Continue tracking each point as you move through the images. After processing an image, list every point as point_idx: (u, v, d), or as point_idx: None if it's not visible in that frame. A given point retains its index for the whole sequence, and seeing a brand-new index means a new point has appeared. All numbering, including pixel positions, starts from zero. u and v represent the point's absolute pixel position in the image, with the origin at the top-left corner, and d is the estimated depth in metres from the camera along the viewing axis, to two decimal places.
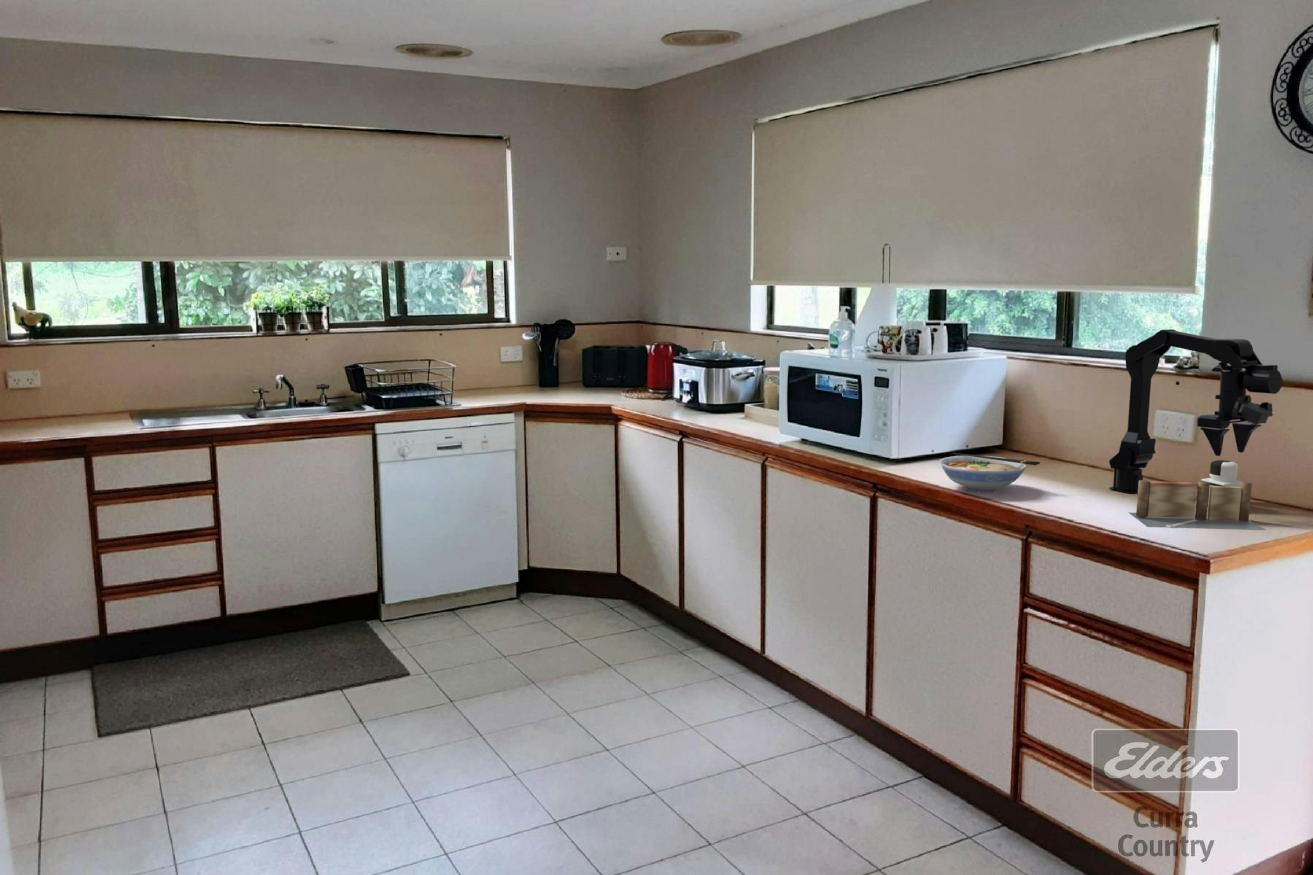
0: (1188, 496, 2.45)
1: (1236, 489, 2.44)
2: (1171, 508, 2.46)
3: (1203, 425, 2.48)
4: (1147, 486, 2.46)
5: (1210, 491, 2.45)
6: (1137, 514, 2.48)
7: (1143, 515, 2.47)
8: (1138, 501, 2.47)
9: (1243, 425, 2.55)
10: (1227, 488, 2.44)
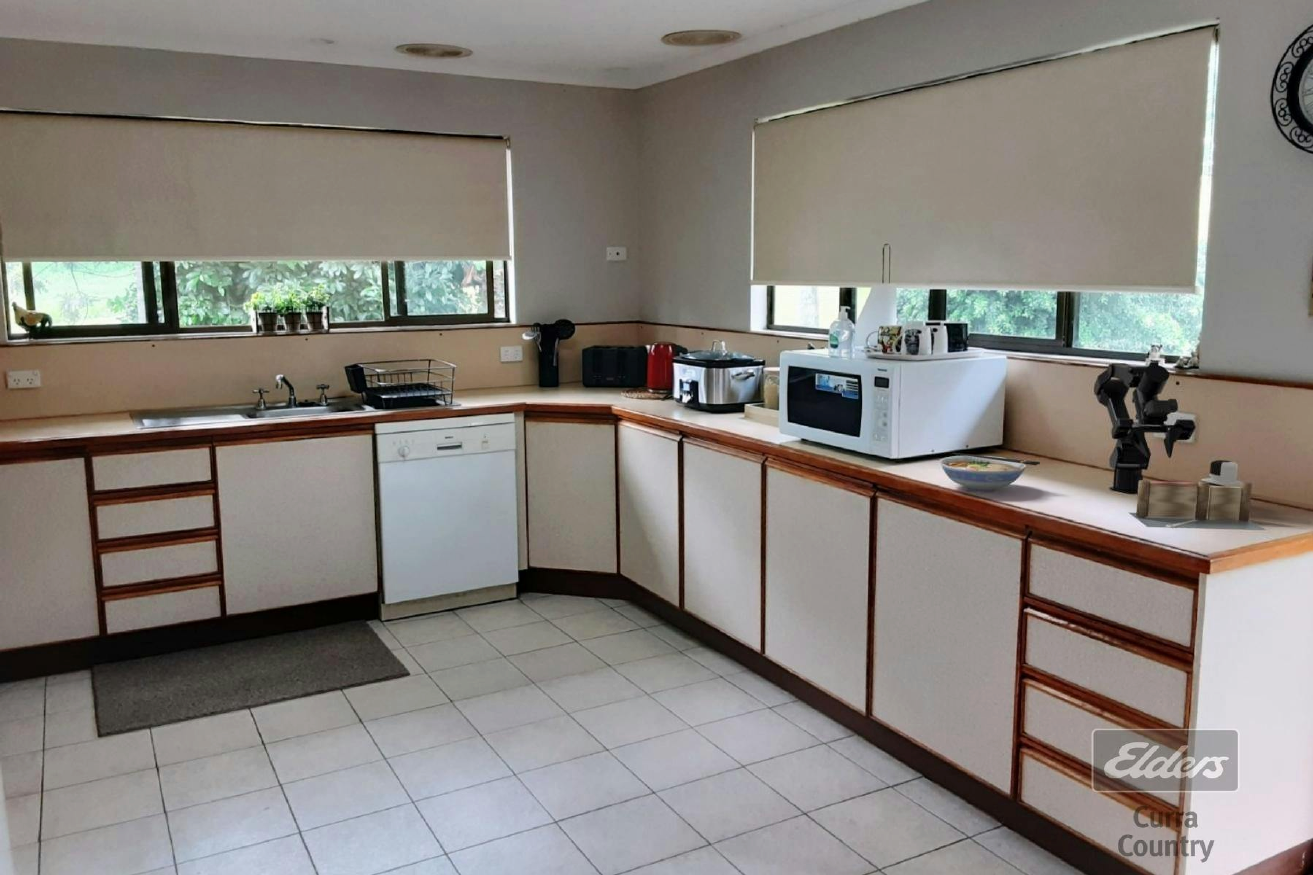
0: (1188, 496, 2.45)
1: (1236, 489, 2.44)
2: (1171, 508, 2.46)
3: (1113, 433, 2.62)
4: (1147, 486, 2.46)
5: (1210, 491, 2.45)
6: (1137, 514, 2.48)
7: (1143, 515, 2.47)
8: (1138, 501, 2.47)
9: (1167, 435, 2.59)
10: (1227, 488, 2.44)
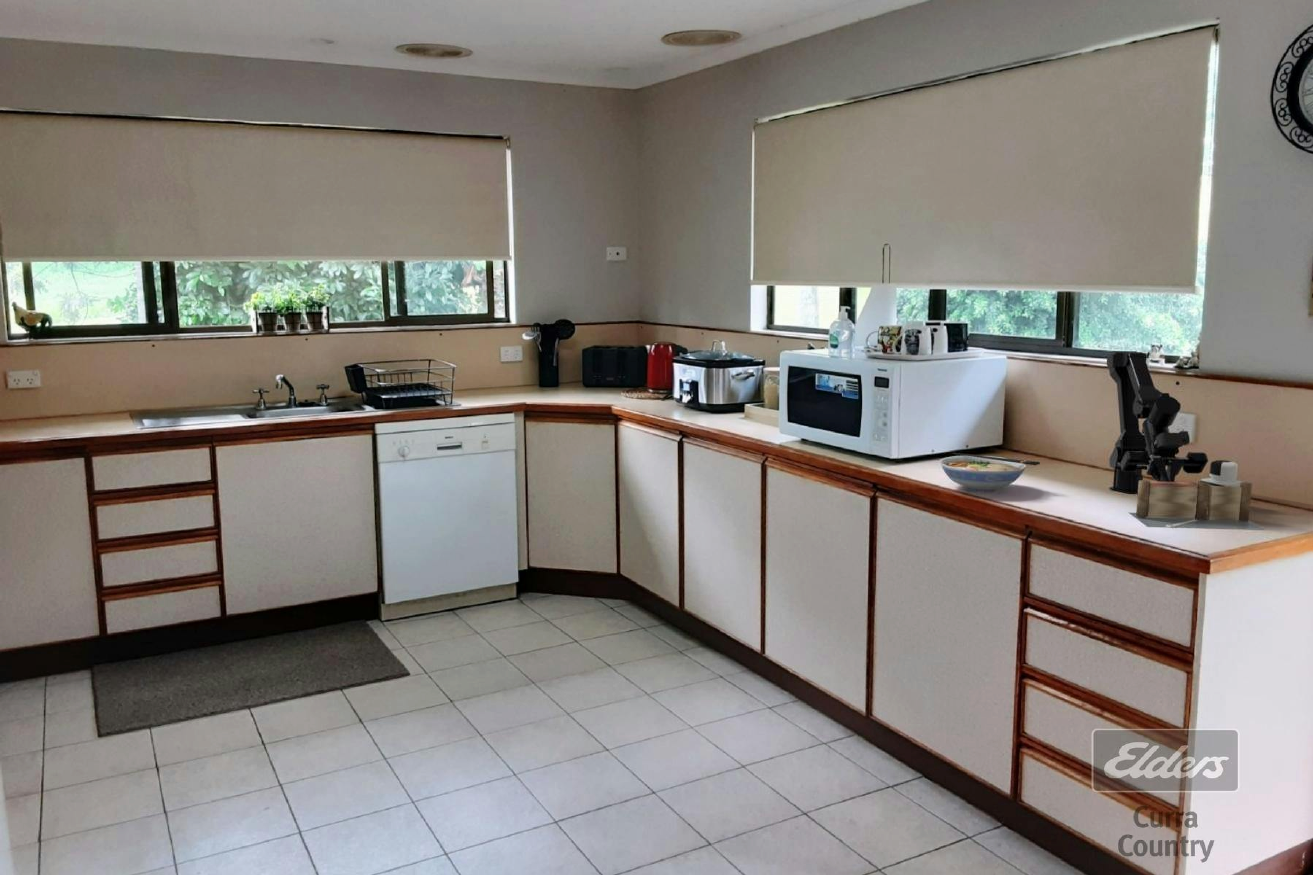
0: (1188, 496, 2.45)
1: (1236, 489, 2.44)
2: (1171, 508, 2.46)
3: (1123, 466, 2.54)
4: (1147, 486, 2.46)
5: (1210, 491, 2.45)
6: (1137, 514, 2.48)
7: (1143, 515, 2.47)
8: (1138, 501, 2.47)
9: (1168, 468, 2.51)
10: (1227, 488, 2.44)
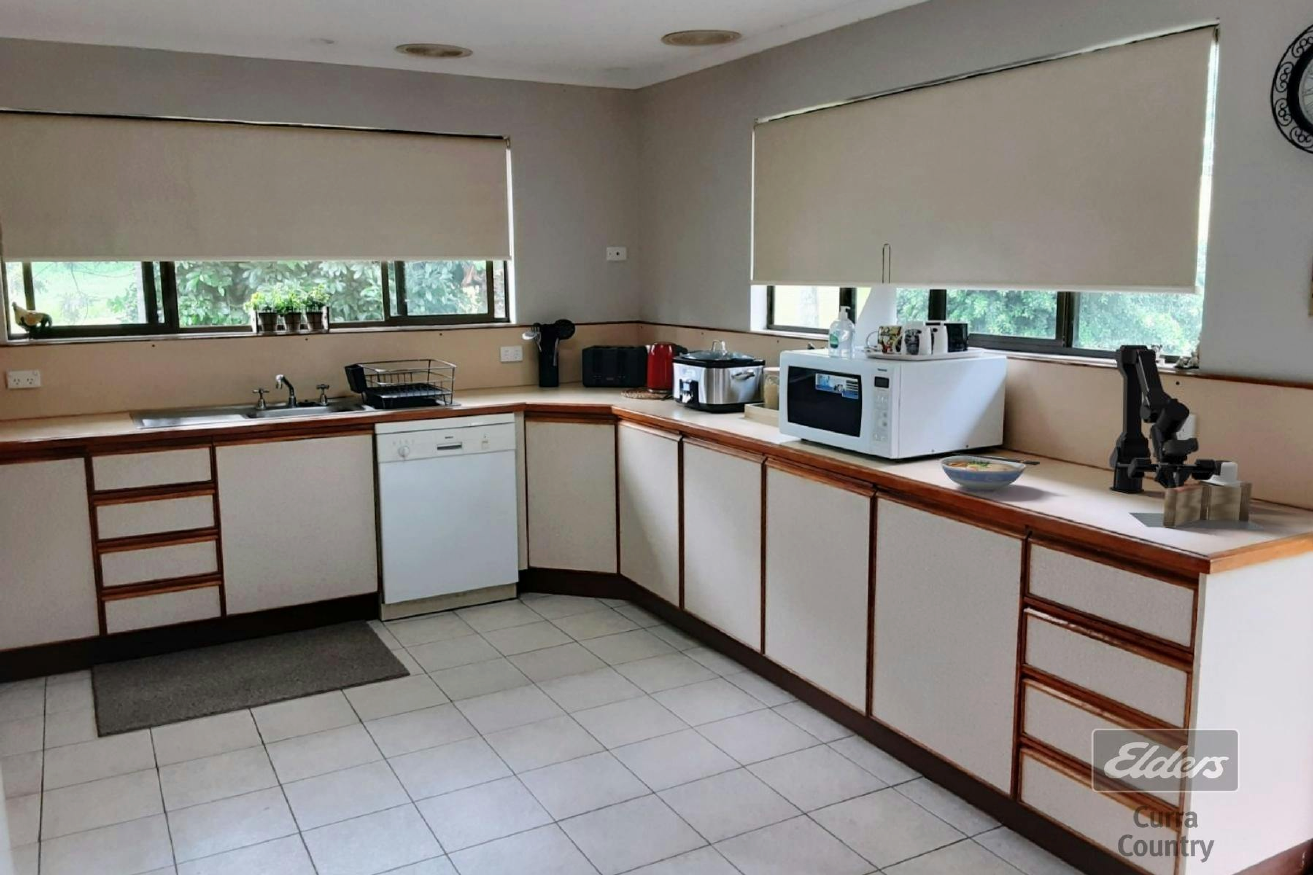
0: (1197, 498, 2.43)
1: (1236, 489, 2.44)
2: (1187, 513, 2.42)
3: (1130, 472, 2.49)
4: (1176, 494, 2.37)
5: (1210, 491, 2.45)
6: (1167, 524, 2.38)
7: (1173, 524, 2.38)
8: (1168, 511, 2.38)
9: (1176, 475, 2.46)
10: (1227, 488, 2.44)
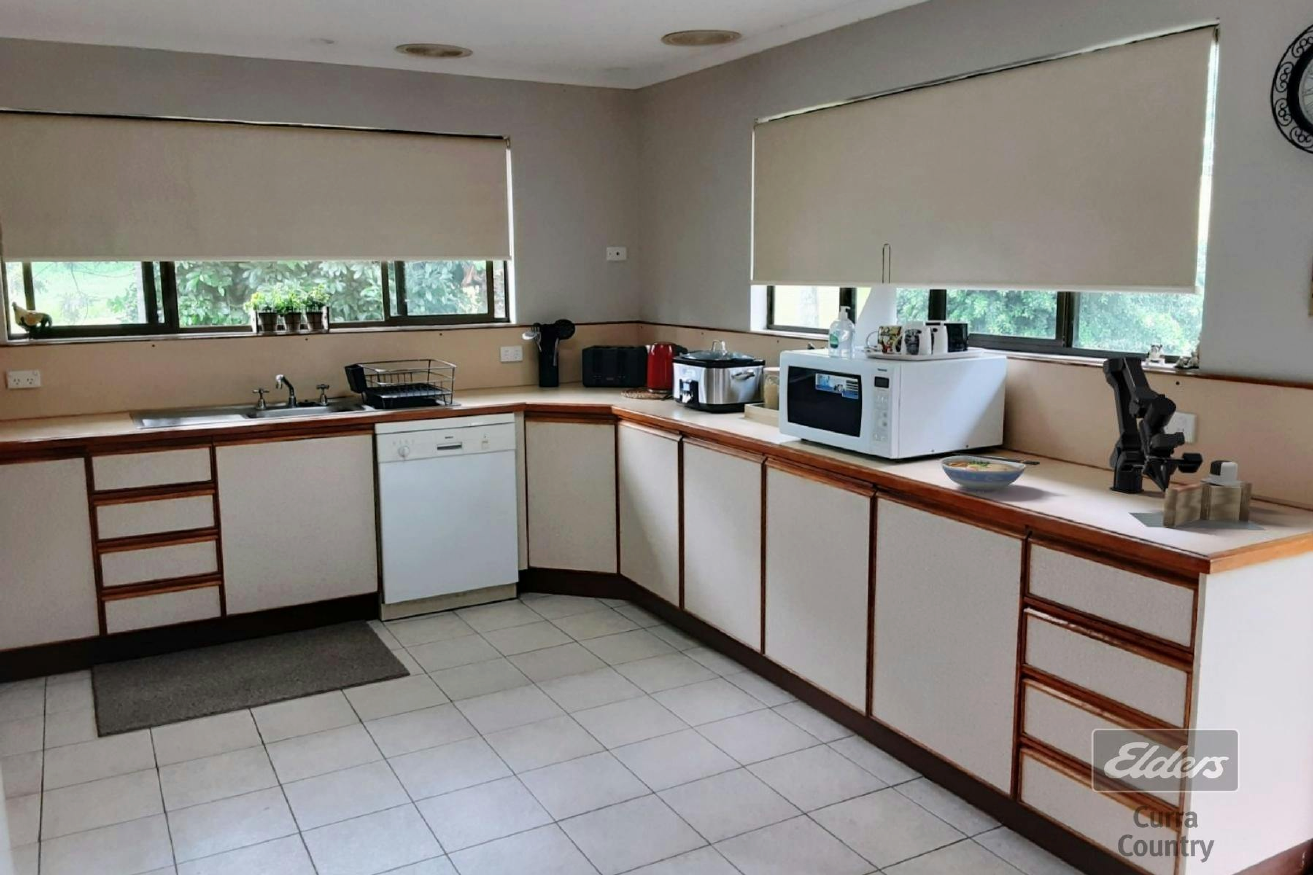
0: (1197, 498, 2.43)
1: (1236, 489, 2.44)
2: (1187, 513, 2.42)
3: (1119, 466, 2.57)
4: (1176, 494, 2.37)
5: (1210, 491, 2.45)
6: (1167, 524, 2.38)
7: (1173, 524, 2.38)
8: (1168, 511, 2.38)
9: (1163, 468, 2.54)
10: (1227, 488, 2.44)
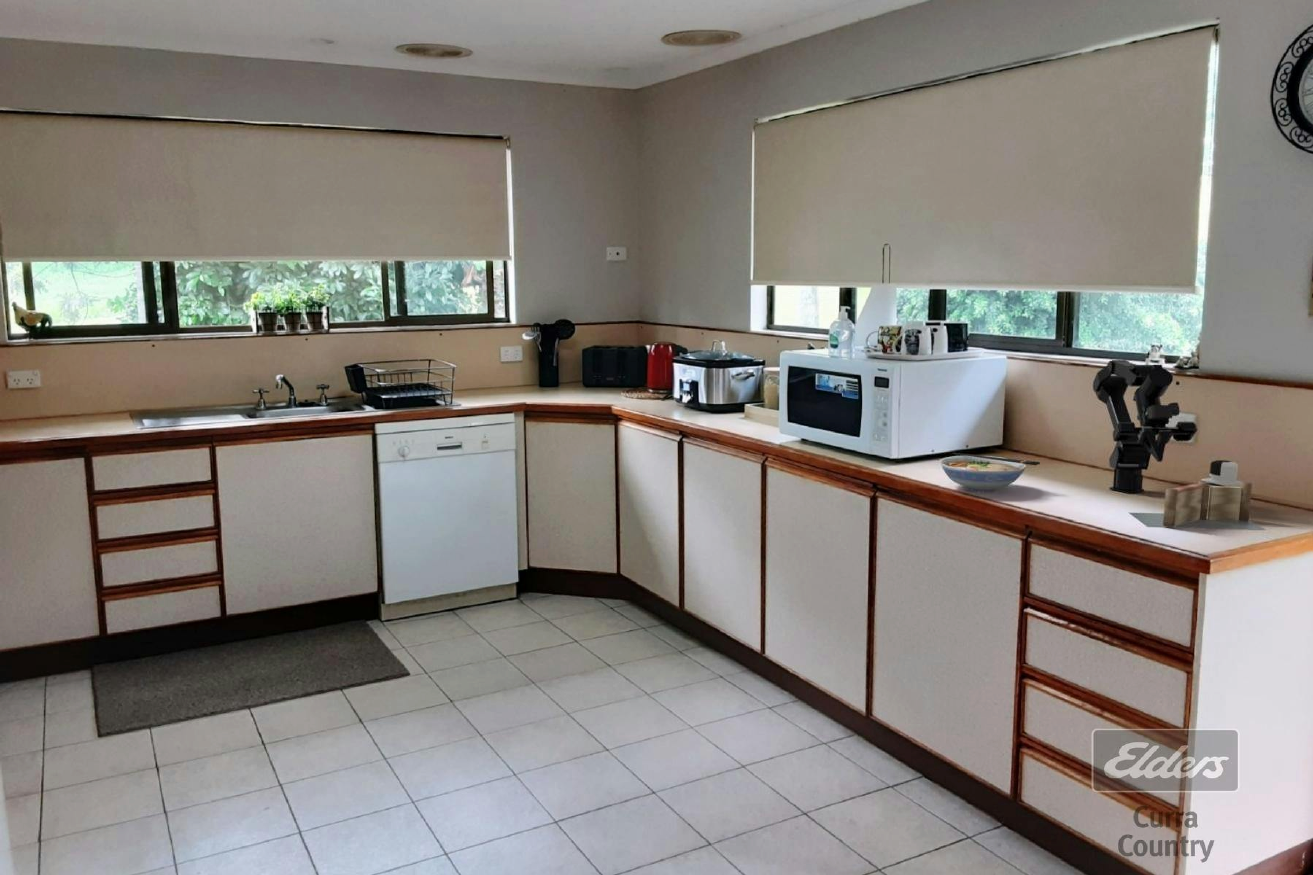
0: (1197, 498, 2.43)
1: (1236, 489, 2.44)
2: (1187, 513, 2.42)
3: (1114, 436, 2.62)
4: (1176, 494, 2.37)
5: (1210, 491, 2.45)
6: (1167, 524, 2.38)
7: (1173, 524, 2.38)
8: (1168, 511, 2.38)
9: (1158, 437, 2.60)
10: (1227, 488, 2.44)
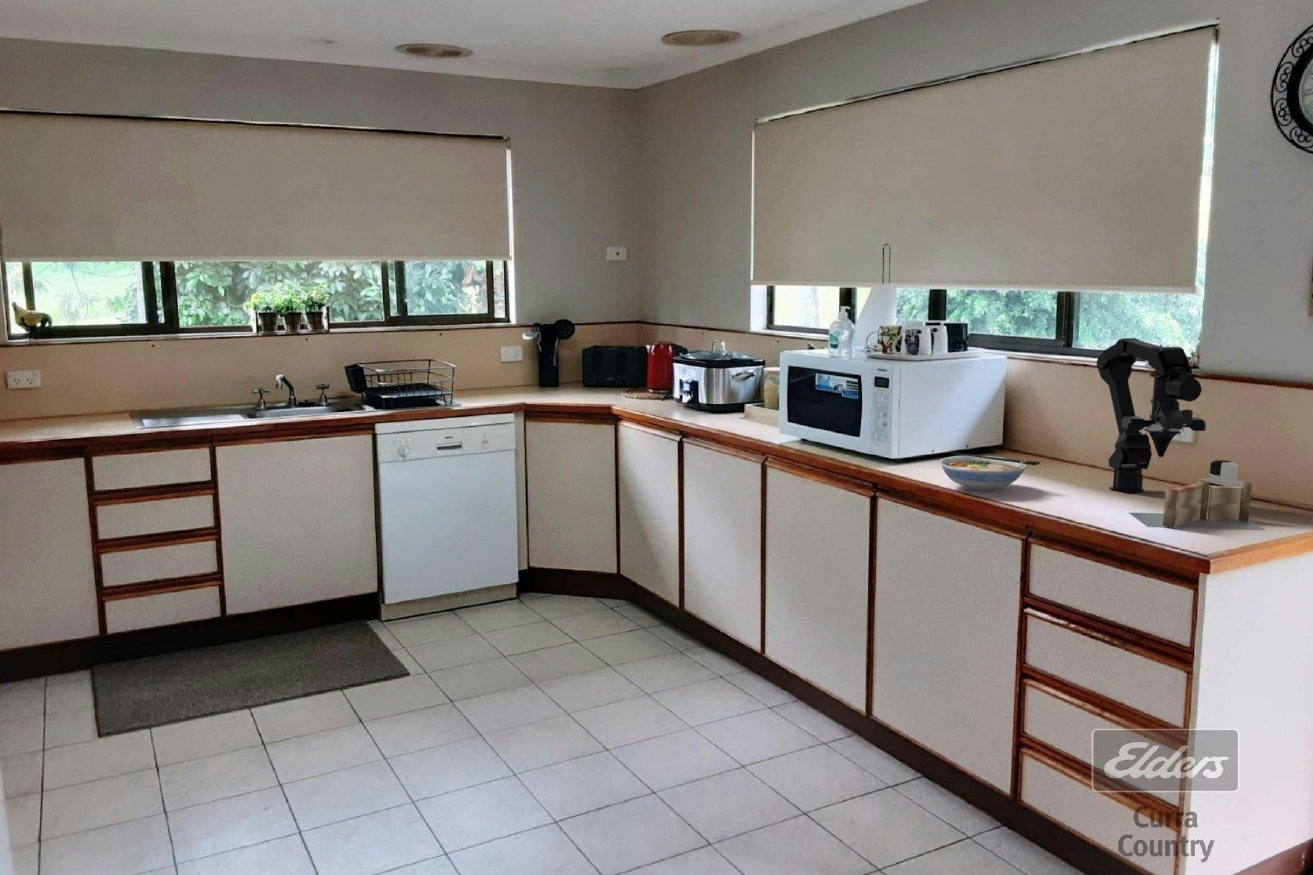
0: (1197, 498, 2.43)
1: (1236, 489, 2.44)
2: (1187, 513, 2.42)
3: (1123, 425, 2.64)
4: (1176, 494, 2.37)
5: (1210, 491, 2.45)
6: (1167, 524, 2.38)
7: (1173, 524, 2.38)
8: (1168, 511, 2.38)
9: (1165, 431, 2.62)
10: (1227, 488, 2.44)
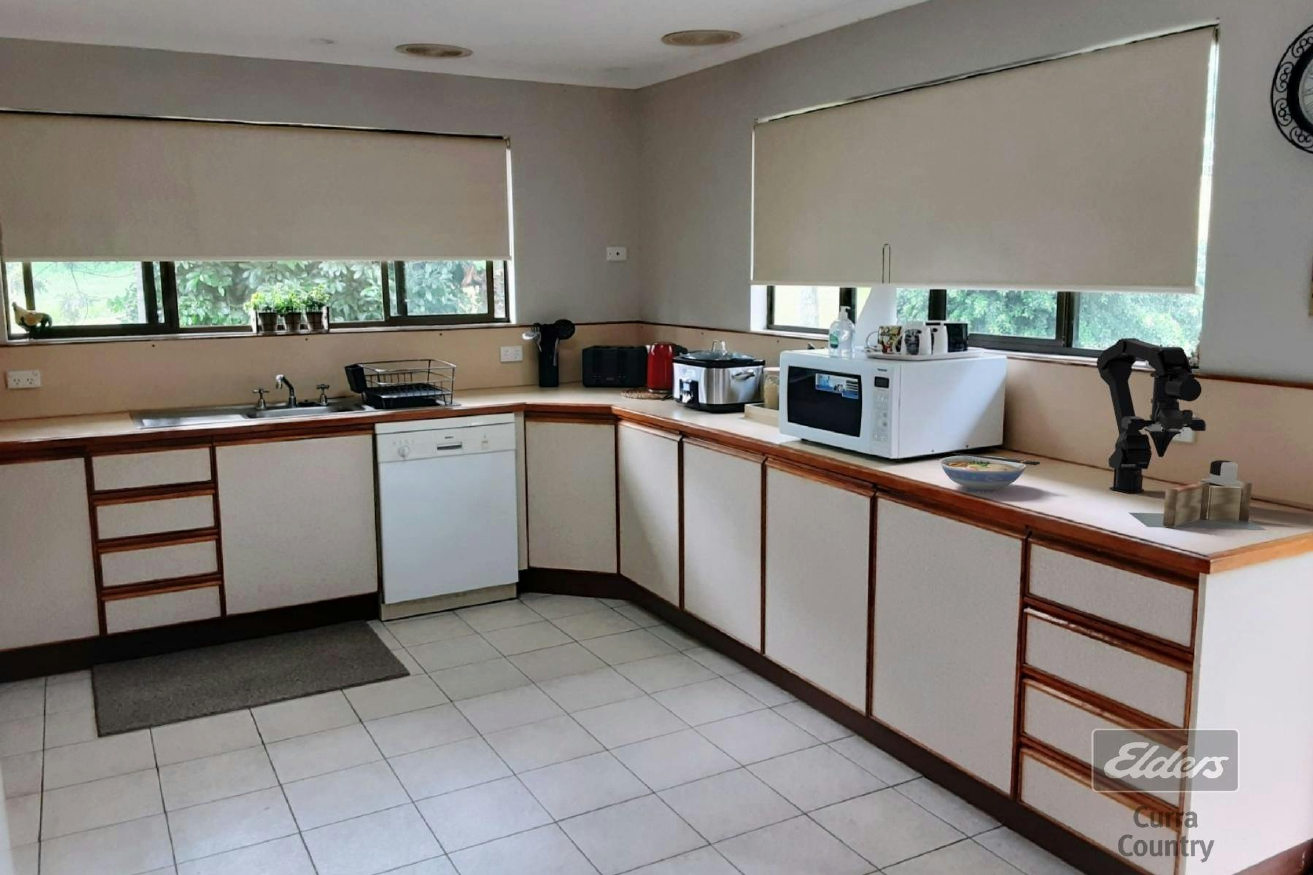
0: (1197, 498, 2.43)
1: (1236, 489, 2.44)
2: (1187, 513, 2.42)
3: (1123, 425, 2.64)
4: (1176, 494, 2.37)
5: (1210, 491, 2.45)
6: (1167, 524, 2.38)
7: (1173, 524, 2.38)
8: (1168, 511, 2.38)
9: (1165, 431, 2.62)
10: (1227, 488, 2.44)
